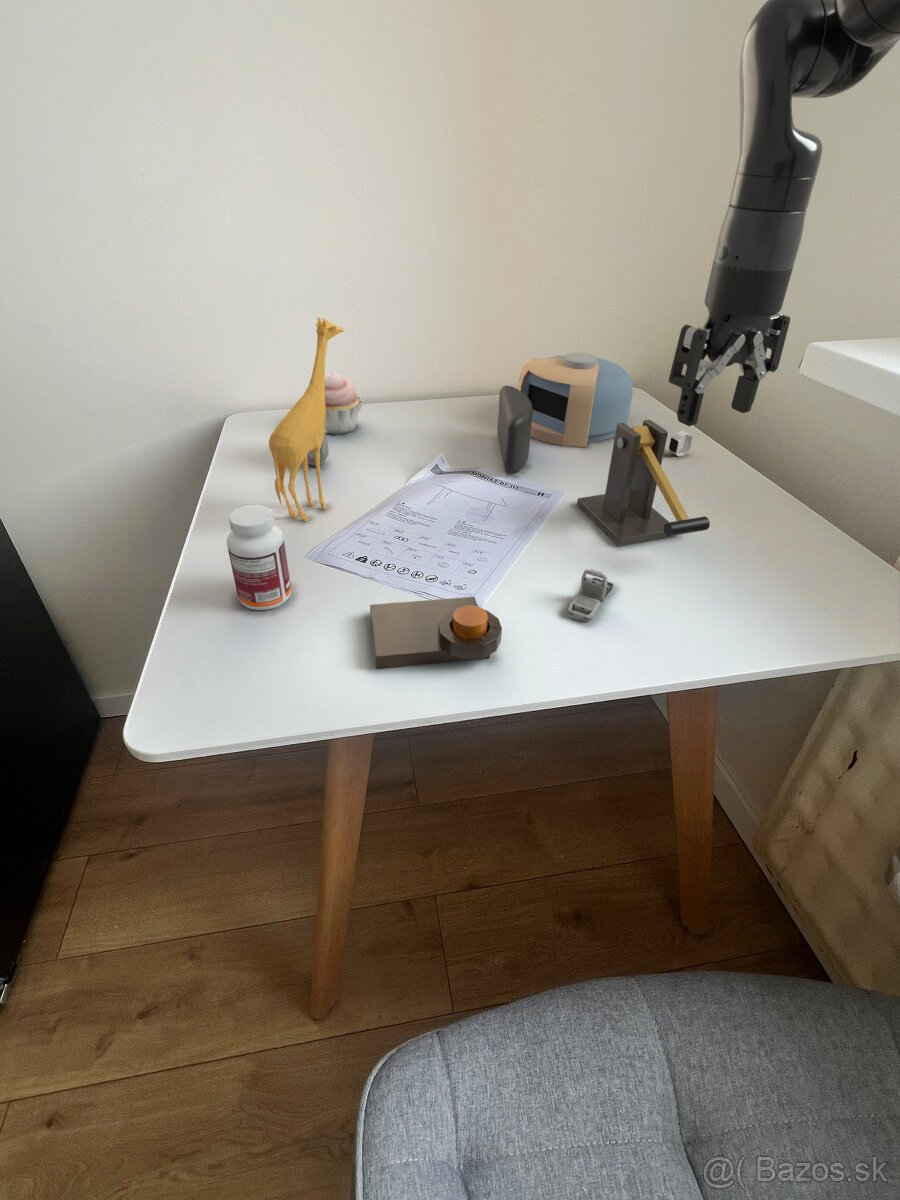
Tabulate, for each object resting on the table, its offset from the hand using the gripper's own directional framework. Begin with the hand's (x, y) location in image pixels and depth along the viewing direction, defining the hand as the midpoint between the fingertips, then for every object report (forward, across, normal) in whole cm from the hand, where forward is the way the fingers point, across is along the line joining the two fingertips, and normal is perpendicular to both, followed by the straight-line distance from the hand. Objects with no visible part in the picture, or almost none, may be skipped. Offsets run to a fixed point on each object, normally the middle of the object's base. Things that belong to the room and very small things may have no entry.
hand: (713, 416), depth 78 cm
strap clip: (+20, -15, -1) cm, 25 cm away
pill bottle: (+20, -49, +18) cm, 55 cm away
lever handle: (+11, 0, +6) cm, 13 cm away
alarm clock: (+20, +17, +43) cm, 50 cm away
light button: (+16, -33, -2) cm, 37 cm away
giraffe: (+20, -35, +36) cm, 54 cm away
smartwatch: (+20, +24, +24) cm, 40 cm away
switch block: (+20, -35, +1) cm, 40 cm away
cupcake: (+20, -22, +61) cm, 68 cm away
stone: (+20, -30, +49) cm, 61 cm away
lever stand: (+20, +1, +12) cm, 23 cm away
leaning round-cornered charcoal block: (+20, -2, +37) cm, 42 cm away
